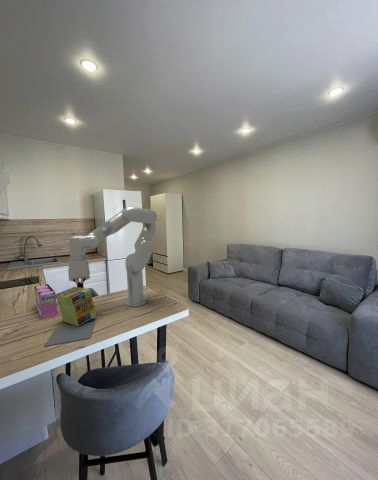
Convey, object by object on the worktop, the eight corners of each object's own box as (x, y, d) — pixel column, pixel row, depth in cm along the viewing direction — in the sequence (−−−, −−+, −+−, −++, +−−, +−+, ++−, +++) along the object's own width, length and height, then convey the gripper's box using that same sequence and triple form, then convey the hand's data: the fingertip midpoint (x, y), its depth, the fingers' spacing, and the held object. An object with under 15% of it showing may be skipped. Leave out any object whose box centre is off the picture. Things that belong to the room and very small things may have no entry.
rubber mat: (95, 322, 110) (95, 321, 110) (90, 338, 95) (90, 337, 95) (56, 328, 105) (56, 327, 105) (44, 346, 90) (44, 345, 90)
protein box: (79, 327, 105) (71, 298, 101) (62, 321, 113) (54, 294, 110) (97, 315, 113) (90, 289, 110) (80, 311, 121) (74, 286, 118)
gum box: (35, 306, 133) (33, 286, 132) (50, 303, 139) (48, 283, 137) (41, 319, 116) (39, 295, 114) (58, 314, 121) (55, 291, 120)
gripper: (93, 255, 123) (95, 286, 125) (64, 257, 119) (67, 289, 120) (91, 258, 115) (93, 290, 117) (60, 260, 111) (63, 293, 113)
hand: (80, 289), depth 119 cm, fingers closed
